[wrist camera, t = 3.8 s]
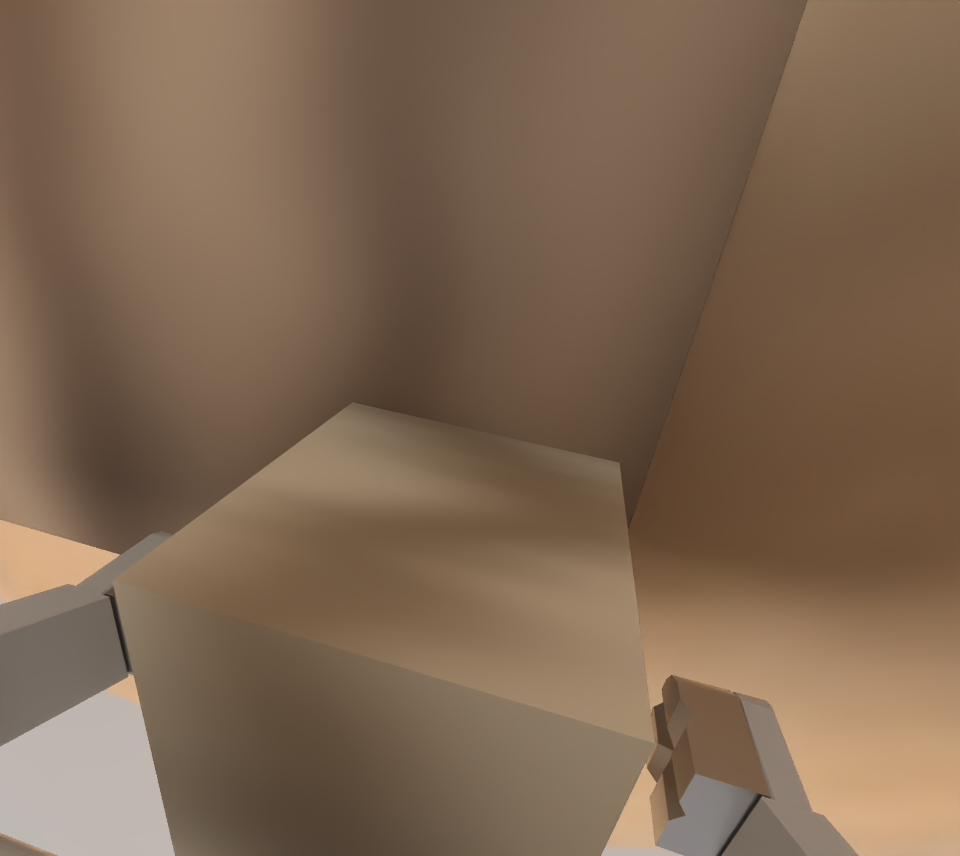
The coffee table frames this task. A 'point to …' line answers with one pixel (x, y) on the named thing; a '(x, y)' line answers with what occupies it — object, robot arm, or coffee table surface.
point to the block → (395, 650)
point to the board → (353, 230)
